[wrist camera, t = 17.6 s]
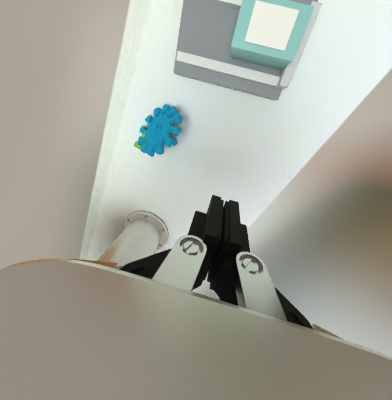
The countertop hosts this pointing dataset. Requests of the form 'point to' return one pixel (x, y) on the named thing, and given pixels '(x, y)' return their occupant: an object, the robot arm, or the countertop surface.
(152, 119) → the gear
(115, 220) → the countertop surface
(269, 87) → the rail base
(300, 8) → the block
